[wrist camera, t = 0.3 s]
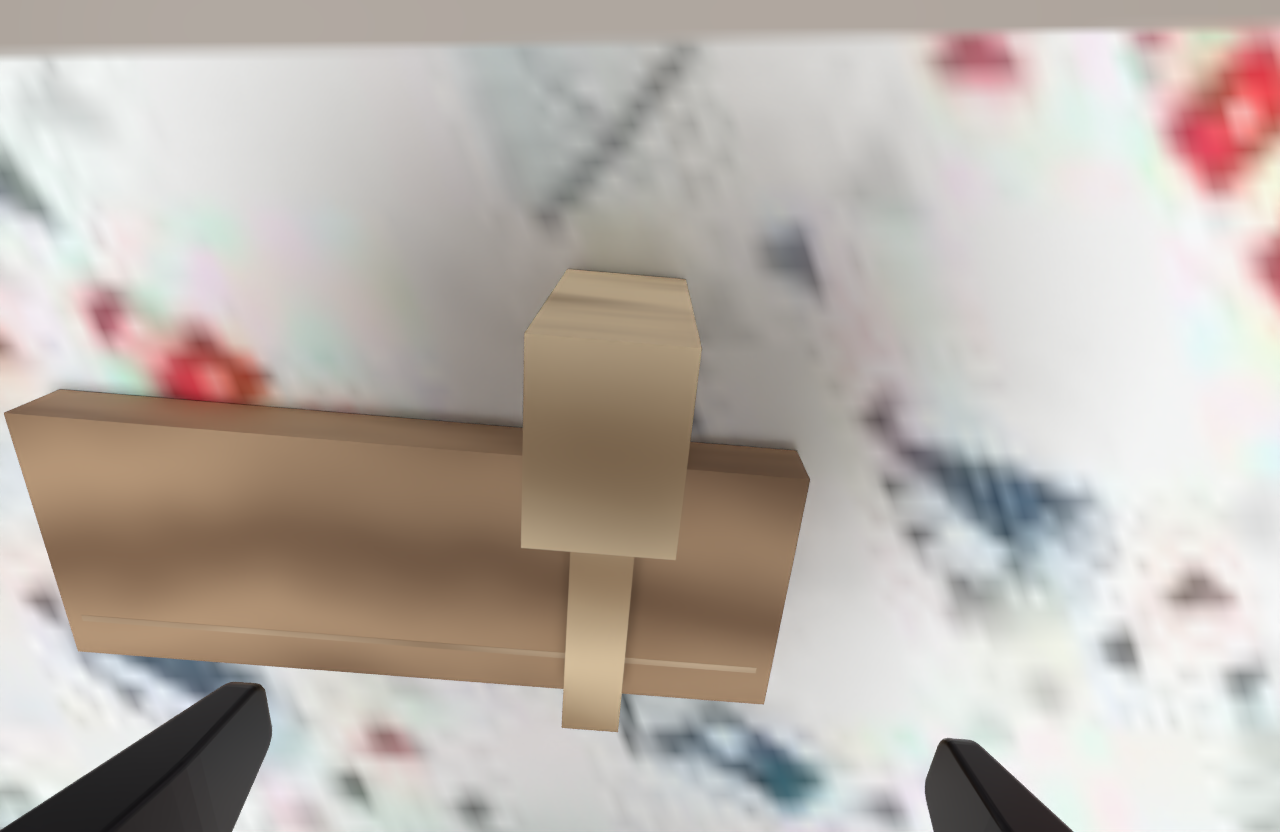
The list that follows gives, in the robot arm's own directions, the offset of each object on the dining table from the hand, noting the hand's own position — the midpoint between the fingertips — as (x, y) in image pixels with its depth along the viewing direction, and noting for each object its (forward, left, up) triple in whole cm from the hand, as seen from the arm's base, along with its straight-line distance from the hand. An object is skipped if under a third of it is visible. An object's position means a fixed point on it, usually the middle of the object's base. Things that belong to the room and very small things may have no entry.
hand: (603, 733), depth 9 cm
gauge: (-3, 0, -13) cm, 14 cm away
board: (-6, +6, -13) cm, 16 cm away
